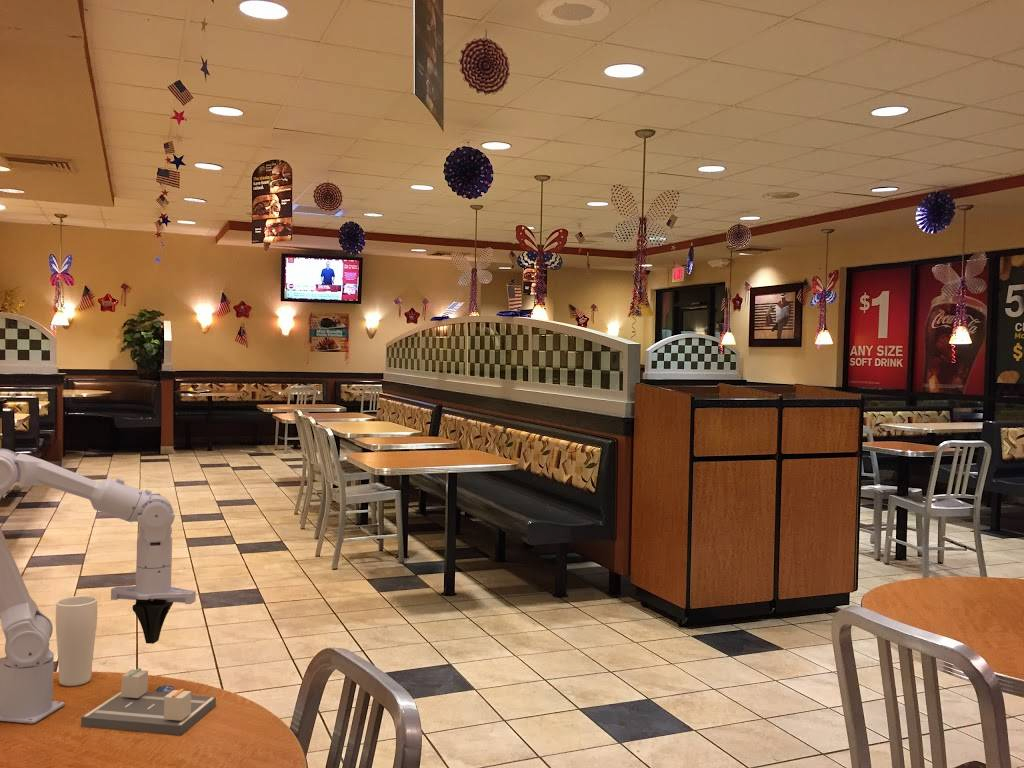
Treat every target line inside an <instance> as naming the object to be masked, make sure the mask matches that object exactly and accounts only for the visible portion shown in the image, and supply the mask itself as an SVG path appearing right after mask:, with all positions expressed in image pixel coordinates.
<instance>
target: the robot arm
mask: <svg viewBox="0 0 1024 768" xmlns="http://www.w3.org/2000/svg"><path fill="white" fill-rule="evenodd" d="M16 482H19V484H18V488H21V489H22V488H27V487H32V486H37V485H42V486H45V487H49V488H52V489H55V490H58V491H61V492H65V493H67V494H71V495H74V496H76V497H77V496H78V497H80V498H83V499H87V500H89V501H90V503H91V506H92V508H93V510H95V511H97V512H100V513H102V514H105V515H109V516H111V517H115V518H118V519H119V520H123V521H125V522H129V523H134V522H135V523H138V538H137V540H136V562H135V563H136V567H135V585H131V586H129V585H126V586H125V585H124V586H123V585H122V586H121V585H120V586H119V585H117V586H114V587H112V588H111V589H110V600H112V601H118V600H128V601H129V600H130V601H131V600H133V601H135V603H134V604H133V605H132V611H133V612H134V615H136V617H137V619H138V621H139V623H140V626H141V629H142V632H143V636H144V641H145V644H152V645H153V644H156V643H157V642H158V641H159V639H160V636H161V631H162V628H163V625H164V622H165V620H166V618H167V615H168V613H169V611H170V610H171V607H172V606H173V604H174V603H178V604H179V603H182V604H185V605H192V604H193V603H195V602H196V598H197V597H196V594H197V591H196V590H192V589H184V588H179V587H174V586H172V568H173V567H172V563H173V562H172V561H173V537H172V533H173V527H172V525H173V524H174V521H175V517H176V515H175V514H174V509H173V506H172V504H171V501H170V500H169V499H168V498H167V497H165V496H163V495H161V494H160V493H159V492H157V493H156V492H155V493H154V492H153V493H152V490H151V489H148V488H146V489H145V490H143V489H140V488H137V487H135V486H132V485H129V484H126V483H125V479H123V478H122V477H116V479H113V478H110V477H109V478H106V479H103V480H100V481H96V480H93V479H91V478H89V477H86V476H83V475H81V474H79V473H76V472H74V471H72V470H69V469H67V468H64V467H62V466H59V465H58V464H54V463H52V462H49V461H47V460H44V459H42V458H37V457H36V456H33V455H30V454H25V453H16V452H14V451H12V450H10V449H7V448H0V500H1V499H2V497H3V495H5V494H6V493H7V492H8V491H9V490H10V489H11V488H12V487H13V486H14V484H15V483H16ZM0 623H1V629H2V632H3V634H4V637H5V645H4V654H5V657H0V722H11V723H21V724H23V723H24V724H36V723H38V722H39V721H41V720H42V719H44V718H46V717H47V716H49V715H51V714H52V713H54V712H55V711H57V710H58V709H59V710H60V708H62V707H64V706H65V702H64V701H58V700H57V701H55V700H54V659H55V658H54V655H55V653H54V652H53V651H52V650H51V649H50V640H51V637H52V634H53V632H54V631H53V628H54V627H53V623H52V621H51V619H50V617H48V616H47V615H45V614H44V613H42V612H41V610H40V609H39V607H38V605H37V603H36V602H35V600H34V599H33V598H32V597H31V595H30V593H29V590H28V588H27V585H26V583H25V581H24V579H23V577H22V575H21V572H20V570H19V568H18V565H17V563H16V560H15V559H14V556H13V554H12V551H11V549H10V546H9V544H8V542H7V540H6V537H5V536H4V533H3V530H2V529H1V527H0Z"/></svg>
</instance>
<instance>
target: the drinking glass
mask: <svg viewBox="0 0 1024 768" xmlns="http://www.w3.org/2000/svg"><path fill="white" fill-rule="evenodd" d="M55 608H56V609H55V636H56V646H57V647H56V648H57V660H58V661H57V662H58V663H57V664H58V682H59V684H60V685H62V686H63V687H77V686H82V685H84V684H87V683H88V682H90V681H91V679H92V676H93V669H92V668H93V660H94V659H93V658H94V650H95V644H96V643H95V642H96V641H95V640H96V634H97V626H98V599H97V597H95V596H91V595H74V596H68V597H67V596H66V597H64V598H60V599H59V600H57V601H56V605H55Z"/></svg>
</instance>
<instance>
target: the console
mask: <svg viewBox="0 0 1024 768" xmlns="http://www.w3.org/2000/svg"><path fill="white" fill-rule="evenodd" d="M169 693H170V692H159V691H148V690H147V692H146V693H145V694H143V695H142V696H140V697H139V698H131V697H121V691H119V692H118V693H116V694H114V695H113V696H112V697H110V698H109V699H107V700H105V701H104V702H102V703H101V704H99V705H98V706H96V707H95V708H94V709H92V710H90V711H88V712H87V713H85V714H84V715H82V716H81V717H80V719H81V721H80V727H84V728H94V729H104V730H105V729H107V730H116V731H117V730H118V731H128V732H141V733H150V734H161V735H172V736H173V735H174V736H182V735H183V734H184V733H186V732H187V731H188V730H189V729H190V728H191V727H193V726H194V725H195V724H196V723H197V722H199V721H200V720H201V719H203V717H204V716H206V715H207V714H208V713H209V712H210V711H211V710H212V709H214V708H215V707H216V706H217V697H216V696H210V695H209V696H208V695H196V694H195V695H194V694H191V713H190V714H189V715H188V716H187V717H185V718H184V719H183V720H182V721H179V720H168V719H164V697H165V696H166V695H168V694H169Z"/></svg>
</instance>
